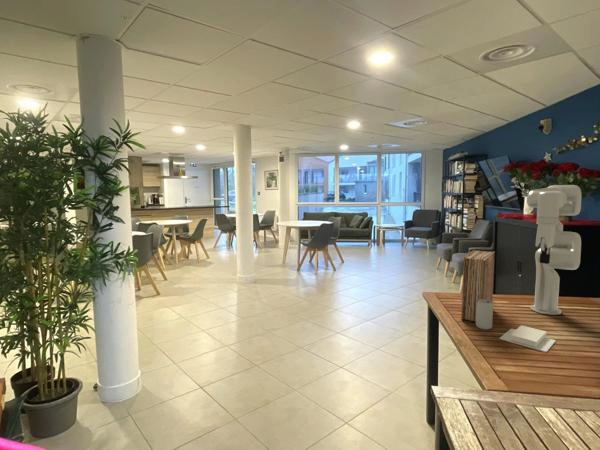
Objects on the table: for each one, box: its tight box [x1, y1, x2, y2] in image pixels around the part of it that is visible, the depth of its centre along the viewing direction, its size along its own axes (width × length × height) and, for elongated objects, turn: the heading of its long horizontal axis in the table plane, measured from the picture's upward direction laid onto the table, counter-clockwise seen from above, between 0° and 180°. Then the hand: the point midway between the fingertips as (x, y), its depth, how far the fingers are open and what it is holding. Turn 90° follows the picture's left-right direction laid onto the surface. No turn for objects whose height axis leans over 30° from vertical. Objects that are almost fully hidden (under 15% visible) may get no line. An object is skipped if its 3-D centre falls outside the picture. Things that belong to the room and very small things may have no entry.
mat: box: [499, 328, 557, 353], centre depth 139 cm, size 14×16×1 cm
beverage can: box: [475, 299, 494, 331], centre depth 151 cm, size 6×6×12 cm
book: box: [460, 248, 496, 323], centre depth 167 cm, size 25×9×30 cm, turn 143°
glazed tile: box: [510, 324, 547, 347], centre depth 139 cm, size 2×9×14 cm
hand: (544, 262), depth 149 cm, fingers closed
